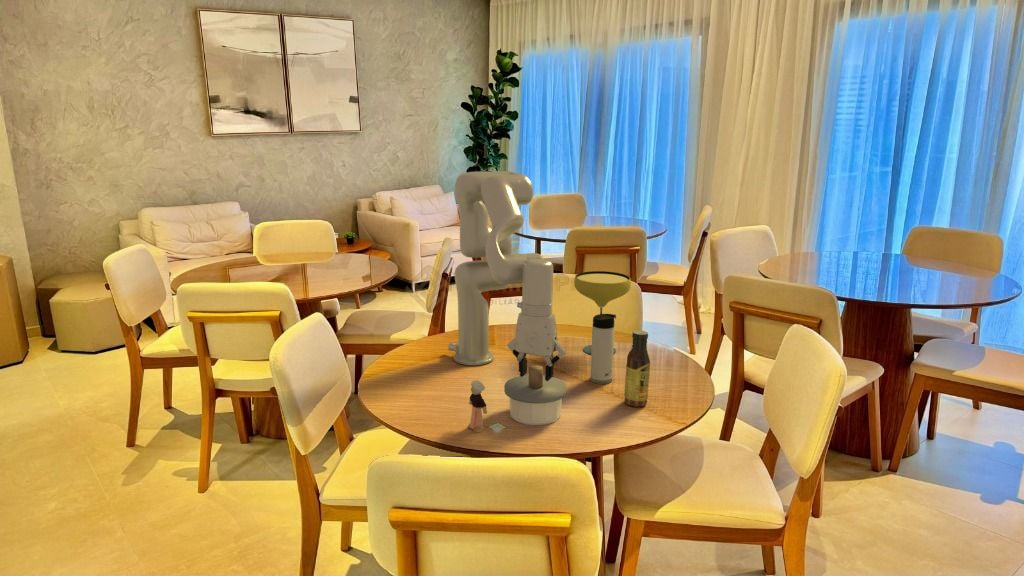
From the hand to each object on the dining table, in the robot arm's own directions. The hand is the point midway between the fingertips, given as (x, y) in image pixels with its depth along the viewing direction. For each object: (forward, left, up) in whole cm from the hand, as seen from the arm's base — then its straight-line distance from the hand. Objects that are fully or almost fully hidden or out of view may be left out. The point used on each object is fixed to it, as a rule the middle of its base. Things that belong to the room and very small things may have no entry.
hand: (535, 376), depth 169 cm
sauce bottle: (+22, +18, -11) cm, 30 cm away
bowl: (0, 0, -10) cm, 10 cm away
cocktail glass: (+1, +55, -11) cm, 56 cm away
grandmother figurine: (-10, -14, -11) cm, 20 cm away
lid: (0, 0, -4) cm, 4 cm away
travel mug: (+9, +30, -11) cm, 33 cm away
